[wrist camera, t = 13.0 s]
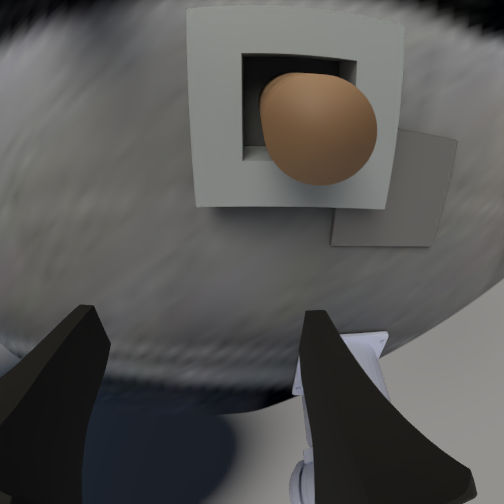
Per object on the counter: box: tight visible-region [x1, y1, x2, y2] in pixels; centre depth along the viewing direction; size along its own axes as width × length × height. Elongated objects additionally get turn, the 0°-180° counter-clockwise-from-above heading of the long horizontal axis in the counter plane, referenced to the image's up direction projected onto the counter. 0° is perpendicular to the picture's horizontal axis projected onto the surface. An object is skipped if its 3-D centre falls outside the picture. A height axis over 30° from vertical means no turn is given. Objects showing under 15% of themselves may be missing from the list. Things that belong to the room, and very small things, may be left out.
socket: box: [186, 5, 404, 209], centre depth 14 cm, size 10×10×3 cm
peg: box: [259, 72, 377, 186], centre depth 12 cm, size 4×4×8 cm
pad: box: [330, 129, 458, 246], centre depth 18 cm, size 8×8×1 cm
